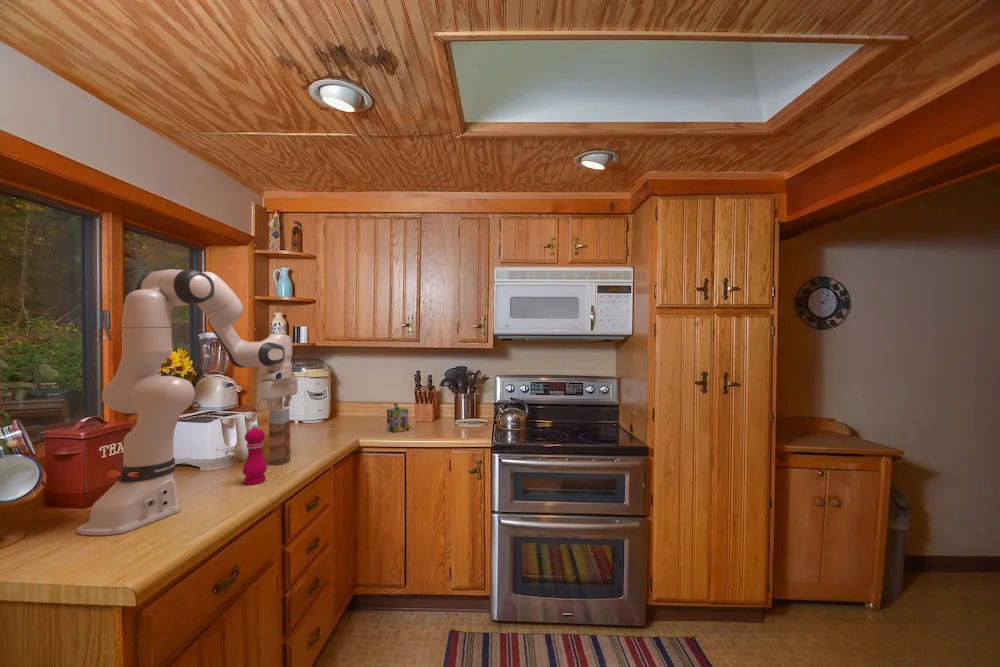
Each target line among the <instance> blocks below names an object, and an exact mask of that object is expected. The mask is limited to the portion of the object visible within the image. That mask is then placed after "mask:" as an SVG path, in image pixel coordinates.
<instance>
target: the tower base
mask: <svg viewBox="0 0 1000 667" xmlns="http://www.w3.org/2000/svg"><path fill="white" fill-rule="evenodd" d="M289 461H290V462H291V447H290V448H289V449H287V450H285V451H283V452H273V451H269V450H268V466H278V465H282V466H284V465H286V464H288V463H290V462H289ZM287 462H288V463H287ZM285 463H286V464H285ZM283 464H284V465H283Z"/></svg>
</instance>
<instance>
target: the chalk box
mask: <svg viewBox="0 0 1000 667" xmlns="http://www.w3.org/2000/svg"><path fill="white" fill-rule="evenodd" d="M393 405H394V408H388V409H386V428H387V431H389V432H390V433H392V434H395V433H399V432H405V431H407V432H408V431H409V430H410V429H409V425H410V422H409V409H408V408H406V407H399V405H398V403H396V402H394V403H393Z"/></svg>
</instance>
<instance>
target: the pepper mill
mask: <svg viewBox="0 0 1000 667" xmlns="http://www.w3.org/2000/svg"><path fill="white" fill-rule="evenodd" d="M258 427H259V426H258V424H256V423H254V424H253V425H251V429H249V430H248V431H246V432H245V435H244V440H245V442H247V443H246V449H247V457H246V460H245V463H244V465H243V467H242V474H243V475H244V476H245V477H244V479H243V480H244V485H246V484H247V485H246V486H253V485H254V484H255V485H260V484H262V483H263V482H265V480H266V475H265V473H266V472H267V468H268V467H267V463H266V460H265V459H264V456H263V454H262V449H263V448H262V447H263V446H264V442H263V440H264V439H265V437H266V435H265V431H264V430H263V429H261V428H258ZM259 483H260V484H259ZM255 485H254V486H255Z"/></svg>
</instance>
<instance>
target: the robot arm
mask: <svg viewBox="0 0 1000 667" xmlns="http://www.w3.org/2000/svg"><path fill="white" fill-rule="evenodd" d="M189 305H197V306H198V307H199V308H200V309H201V310H202V312H203V313H204V314H205V316H206V318H207V322H208V325H209V327H210V328H211V331H212V332H213V334H214V335H215V336H216V338H217V339H218V341H219V342H220V343H221V345H222V347H223V348H224V349H225V352H226V354H227V357H228V359H229V361H230V362H231V364H232V365H233V366H234V367H237V368H240V369H242V368H243V369H245V368H249V367H250V368H265V367H266V370H265V371H263V372H261V373H260V374H259V375H258V380H259V385H258V397H259V399H260V400H262V401H266V404H267V406H268V410H269V412H270V411H273V410H275V409H276V405H275V404H274V402H275V399H279V398H285V399H284V402H283V405H282V406H283V408H288V407H290V402H291V400H292V396H293V395H294V396H295V395H297V394H298V379H297V377H296V375H295V373H294V372H293V364H292V357H293V343H292V338H291V336H290V335H288V334H285V333H280V332H279V333H278V332H273V333H270V334H269V336H268V337H267V338H265V339H263V340H261V341H247V340H244V339H242V338H241V337H240V336H239V335H238V333H237V331H236V330H235V327H233V325H234V324H235V323H236V322H237V321H238V320H239V319H240V318H241V316H242V315H243V312H244V305H243V304H242V302H241V300H240V298H239V297H238V296H237V295H236V294H235V292H234V291H233V290H232V289H231V287H230V286H229V285H228V284H227V283H226V282H225V281H224V280H223V279H221V278H220V277H219V276H218V275H217V274H215V273H213V272H210V271H199V270H195V269H174V268H171V269H162V270H153V271H149V272H147V273H144V274H143V275H142V276H141V277H140V278H139V279H138V281H137V282H136V286H135V289H134V290H133V291H131V292H129V293H128V294H127V295H126V297H125V299H124V303H123V309H122V316H121V358H120V361H119V365H118V368H117V371H116V373H115V375H114V376H113V378H112V379H110V380H109V382H108V383H106V385H105V386H104V388H103V389H102V391H101V392H102V393H101V400H102V402H103V404H104V405H105V406H106V408H109V409H111V410H113V411H117V412H120V413H124V414H136V415H137V414H138V416H137V420H136V423H135V425H134V427H133V428H132V430H131V431H129V432H128V433H127V434H126V435H125V436H124V438H123V450H122V451H123V456H122V457H123V458H122V459H123V464H122V465H121V467H120V469H119V470H110V471H108V473H107V476H106V477H107V478H108V479H116V482H115V483H114V484H113V485H112V486H111V487H110V488H109V489H107V491H106V492H105V493H103V495H102V496H101V497H99V499H97V500H96V501H95V502H93V505H92V506H91V509H90V513H89V518H88V520H89V521H87V522H85V523H84V524H82V525H80V526H77V528H76V533H77V534H78V535H79V534H80V535H84V536H111V535H119V534H124V533H127V532H131V531H133V530H136V529H139V528H140V527H143V526H145V525H146V526H147V525H148V524H151V523H153V522H156V521H158V520H161V519H164V518H166V517H169V516H171V515H174V514H177V513H179V512H181V510H182V509H181V502H180V501H179V498H178V491H177V484H176V479H175V475H174V471H176V461H175V460H176V459H175V457H174V436H175V430H176V427H177V424H178V421H179V419H180V418H181V415H182V414H183V413H184V412H185V411H186V410H187V409H188V408H190V406H191V405H192V404H193V402H194V399H195V395H196V392H195V387H194V386H193V384H192V383H191V382H190V381H189V380H188V379H185V378H181V377H177V376H173V375H160V371H161V369H162V368H161V367H162V365H163V363H164V361H166V360H167V359H169V358H170V357H171V356H172V353H173V328H172V317H171V314H172V310H173V309H174V307H178V306H179V307H181V306H183V307H184V306H189Z"/></svg>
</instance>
